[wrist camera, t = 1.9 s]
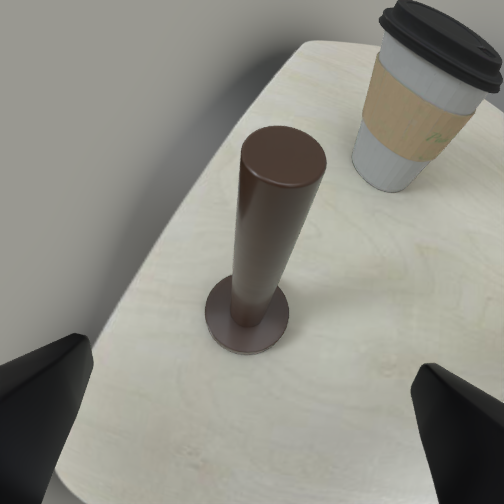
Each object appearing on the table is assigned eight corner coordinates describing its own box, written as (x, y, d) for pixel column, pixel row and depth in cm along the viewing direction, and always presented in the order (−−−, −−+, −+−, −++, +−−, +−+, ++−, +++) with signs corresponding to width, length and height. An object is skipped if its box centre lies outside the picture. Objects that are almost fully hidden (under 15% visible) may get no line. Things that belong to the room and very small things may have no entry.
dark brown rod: (291, 350, 19) (415, 243, 6) (209, 358, 18) (171, 260, 6) (280, 274, 21) (350, 95, 8) (203, 280, 20) (178, 93, 8)
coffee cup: (414, 228, 24) (522, 91, 10) (315, 171, 25) (372, 2, 12) (431, 163, 27) (502, 48, 14) (351, 117, 29) (397, -11, 16)
